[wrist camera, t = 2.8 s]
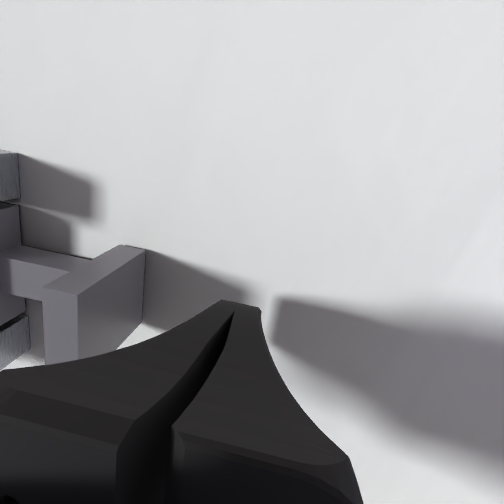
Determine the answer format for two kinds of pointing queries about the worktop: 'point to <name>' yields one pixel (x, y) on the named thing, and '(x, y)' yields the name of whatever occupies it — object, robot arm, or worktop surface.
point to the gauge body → (17, 329)
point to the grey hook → (71, 293)
